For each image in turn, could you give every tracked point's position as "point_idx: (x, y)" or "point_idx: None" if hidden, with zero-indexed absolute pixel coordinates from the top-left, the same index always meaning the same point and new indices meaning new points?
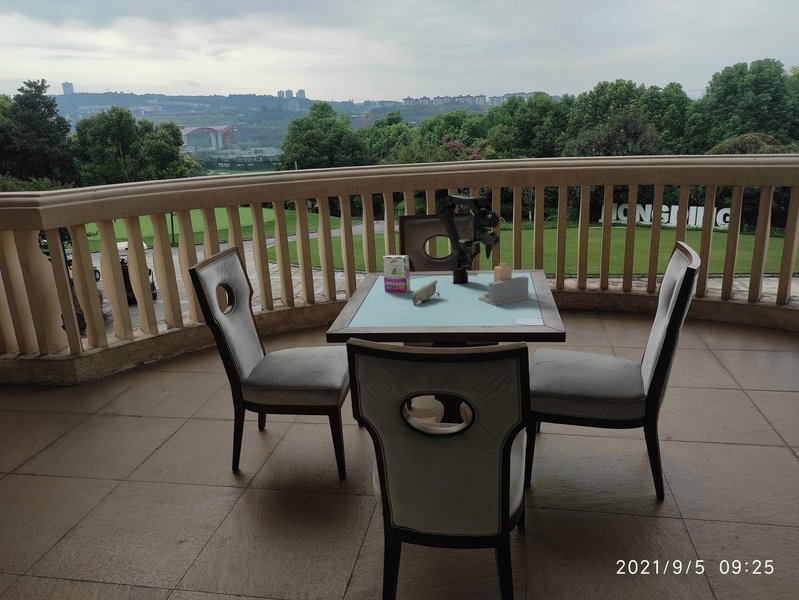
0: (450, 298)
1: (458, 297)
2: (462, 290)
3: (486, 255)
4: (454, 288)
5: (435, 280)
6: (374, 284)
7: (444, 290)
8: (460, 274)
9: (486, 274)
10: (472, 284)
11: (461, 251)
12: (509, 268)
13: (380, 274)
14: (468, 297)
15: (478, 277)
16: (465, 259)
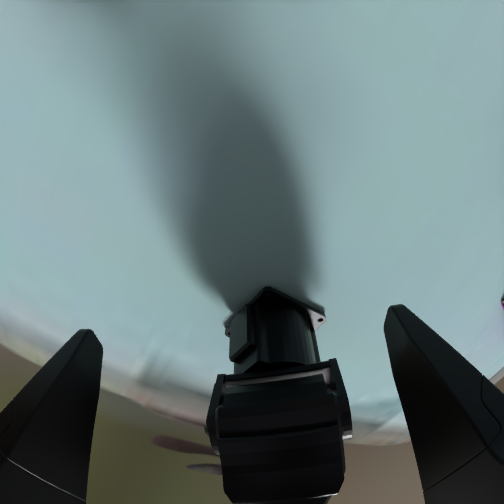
0: (499, 86)
1: (465, 68)
2: (366, 180)
3: (94, 387)
4: (374, 241)
5: None
6: (490, 377)
7: (435, 234)
8: (296, 343)
9: (104, 358)
10: (236, 263)
11: (310, 491)
12: None
13: (409, 434)
14: (422, 24)
15: (151, 344)
16: (280, 426)
